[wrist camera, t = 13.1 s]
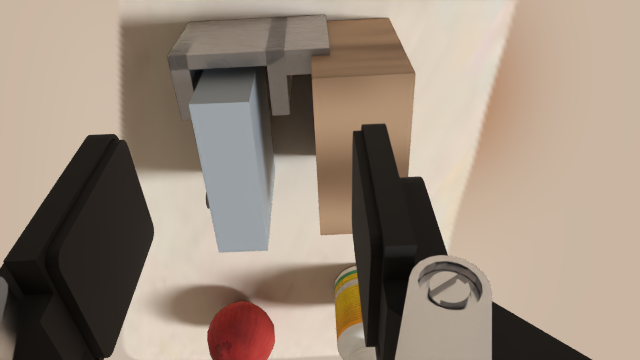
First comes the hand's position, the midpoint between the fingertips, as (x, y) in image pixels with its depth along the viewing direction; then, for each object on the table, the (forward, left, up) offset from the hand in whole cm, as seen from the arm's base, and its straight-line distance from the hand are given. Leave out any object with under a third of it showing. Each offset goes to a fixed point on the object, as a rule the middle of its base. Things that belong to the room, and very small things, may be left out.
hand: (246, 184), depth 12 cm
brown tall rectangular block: (+8, +4, -22) cm, 23 cm away
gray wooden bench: (+4, -2, -22) cm, 22 cm away
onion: (+29, -6, -22) cm, 37 cm away
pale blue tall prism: (+9, -3, -22) cm, 24 cm away
